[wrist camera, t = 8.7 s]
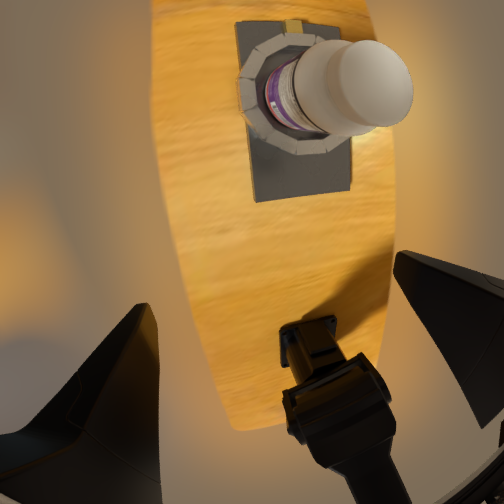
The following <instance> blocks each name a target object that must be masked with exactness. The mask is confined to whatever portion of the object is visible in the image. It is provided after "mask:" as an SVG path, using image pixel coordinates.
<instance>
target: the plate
mask: <svg viewBox="0 0 504 504" xmlns="http://www.w3.org/2000/svg"><path fill="white" fill-rule="evenodd" d="M234 26H235V35H236V43H237V52H238V60H239V69H240V71H241V69H242V67H243V65H244V63H245V61H246V59H247V57H248V55H249V54H250V53H251V51H252V50H253V49H254V48H255V47H256V46H258V45H260V44H262V43H264V42H266V41H267V40H269V39H271V38H273V37H275V36H277V35H279V34H281V33H282V34H284V27H283V22H269V21H252V22H236V23H235V25H234ZM302 29H303V34H313V35H315V37H316V36H319V37H321V38H323V39H324V40H326V41H327V40H341V39H340V33H339V28H338V27H331V26H324V25H316V24H306V23H302ZM302 52H303V51H299V50H281V51H279V52H277V53H276V54H274V55H272V56H270V57H268V58H267V59H265V61H264V63H263V64H262V66H261V68H260V70H259V72H258V74H257V76H256V78H255V87H256V96H257V106H258V108H259V109H260V110H261V112H262V113H263V115H264V116H265V117H266V119H267V120H268V121H269V123H270V124H271V126H272V127H273V128H274V129H275V130H277V131H279V132H281V133H283V134H285V135H287V136H289V137H292V138H294V139H304V138H315V137H317V136H318V135H320V134H321V133H319V132H312V131H303V130H296V129H293V128H290V127H287V126H285V125H284V124H282V123H281V122H279V121H278V120H277V119H276V118H275V117H274V116H273V114H272V113H271V111H270V110H269V108H268V105H267V102H266V98H265V88H266V84H267V81H268V79H269V77H270V75H271V74H272V73H273V71H274V70H275V69H277V68H278V67H279V66H280V65H282V64H284V63H285V62H287V61H289V60H290V59H292V58H294V57H295V56H297V55H299V54H300V53H302ZM245 123H246V132H247V141H248V150H249V160H250V169H251V179H252V188H253V198H254V201H255V202H256V203H257V202H264V201H271V200H278V199H285V198H292V197H300V196H307V195H315V194H324V193H332V192H341V191H350V139H349V138H348V139H347V140H345V141H344V142H342V143H341V144H339V145H338V146H337V147H335V148H334V149H332V150H331V151H329V152H326V153H320V154H306V155H295V154H291V153H288V152H286V151H284V150H282V149H279V148H277V147H275V146H273V145H271V144H269V143H266V142H264V141H262V140H261V139H260V138H258V137H257V136H256V134H255V133H254V132H253V130H252V129H251V128H250V126H249V125H248V124H247V122H246V121H245Z"/></svg>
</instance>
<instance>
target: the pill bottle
mask: <svg viewBox="0 0 504 504" xmlns="http://www.w3.org/2000/svg"><path fill="white" fill-rule="evenodd" d="M265 98H266V102H267V105H268V108H269V110H270V111H271V113H272V114H273V116H274V117H275V118H276V119H277V120H278V121H279V122H281V123H282V124H284V125H285V126H287V127H290V128H293V129H296V130H303V131H312V132H319V133H326V134H332V135H339V136H358V135H363V134H365V133H368V132H370V131H371V130H373V129H375V128H376V127H388V126H392V125H395V124H397V123H399V122H400V121H402V120H403V119H404V118H405V117H406V115H407V114H408V112H409V110H410V107H411V105H412V101H413V84H412V79H411V76H410V73H409V71H408V69H407V67H406V65H405V63H404V62H403V60H402V59H401V58H400V57H399V56H398V55H397V53H395V52H394V51H393V50H392V49H390V48H389V47H388V46H385V45H384V44H382V43H380V42H377V41H372V40H362V41H358V42H355V43H353V42H349V41H345V40H327V41H323V42H320V43H318V44H315V45H313V46H312V47H310V48H308V49H307V50H305V51H303V52H302V53H300V54H299V55H297V56H295V57H294V58H292V59H290V60H289V61H287V62H285V63H284V64H282V65H280V66H279V67H278V68H277V69H275V70H274V71H273V73H272V74H271V75H270V77H269V79H268V81H267V84H266V88H265Z"/></svg>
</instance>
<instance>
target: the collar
mask: <svg viewBox="0 0 504 504" xmlns="http://www.w3.org/2000/svg"><path fill="white" fill-rule="evenodd" d="M283 27H284V34H282V33H281V34H279V35H277V36H275V37H273V38H271V39H269V40H267V41H266V42H264V43H262V44H260V45H258V46H256V47H255V48H254V49H253V50H252V51H251V53H250V54H249V55H248V57H247V59H246V61H245V63H244V65H243V67H242V69H241V71H240V73H239V75H238V77H237V81H236V89H237V98H238V107H239V111H244V112H242V113H241V114H240V115H241V116H242V117H243V118H244V120H245V121H246V122H247V124H248V125H249V126H250V128H251V129H252V130H253V132H254V133H255V134H256V136H257V137H258V138H260V139H261V140H262V141H264V142H266V143H269V144H271V145H273V146H275V147H277V148H279V149H282V150H284V151H286V152H288V153H291V154H295V155H306V154H320V153H326V152H329V151H331V150H332V149H334V148H335V147H337V146H338V145H339V144H341V143H342V142H344V141H345V140H347V139H348V138H350V136H339V135H332V134H326V133H321V134H320V135H318V136H317V137H315V138H304V139H294V138H292V137H289V136H287V135H285V134H283V133H281V132H279V131H277V130H275V129H274V128H273V127H272V126H271V124H270V123H269V121H268V120H267V119H266V117H265V116H264V115H263V113H262V112H261V110H260V109H259V108H258V106H257V96H256V87H255V78H256V76H257V74H258V72H259V70H260V68H261V66H262V64H263V63H264V61H265V59H267V58H268V57H270V56H272V55H274V54H276V53H277V52H279V51H281V50H299V51H305V50H307V49H308V48H310V47H312V46H313V45H315V44H318V43H320V42H323V41H326V40H324V39H323V38H321V37H319V36H316V37H315V35H313V34H303V29H302V23H301V20H287V19H285V20H284V21H283Z"/></svg>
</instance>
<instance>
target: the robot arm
mask: <svg viewBox="0 0 504 504" xmlns="http://www.w3.org/2000/svg"><path fill="white" fill-rule="evenodd" d="M393 274H394V277H395V279H396V280H397V282H398V284H399V285H400V287H401V289H402V291H403V293H404V294H405V296H406V298H407V300H408V302H409V303H410V305H411V307H412V308H413V310H414V311H415V313H416V314H417V316H418V317H419V319H420V320H421V322H422V323H423V325H424V326H425V328H426V329H427V331H428V332H429V334H430V336H431V337H432V339H433V340H434V342H435V344H436V345H437V347H438V348H439V350H440V352H441V353H442V355H443V357H444V358H445V360H446V362H447V364H448V365H449V367H450V369H451V371H452V372H453V374H454V376H455V378H456V379H457V381H458V383H459V385H460V387H461V389H462V391H463V393H464V395H465V397H466V399H467V401H468V403H469V405H470V407H471V409H472V411H473V413H474V415H475V417H476V420H477V422H478V424H479V426H480V428H481V429H483V428H484V427H485V426H486V425H487V424H488V423H489V422H490V421H491V420H492V419H493V418H495V416H497V414H499V412H500V411H501V410H502V409H503V408H504V280H502V279H498V278H496V277H492V276H489V275H486V274H483V273H482V274H481V273H480V272H477V271H474V270H471V269H468V268H465V267H462V266H458V265H455V264H452V263H448V262H445V261H442V260H439V259H435V258H432V257H429V256H425V255H422V254H419V253H415V252H412V251H408V250H403V251H399V252H397V254H396V257H395V262H394V268H393ZM336 324H337V318H336V316H335V315H331V316H328V317H324V318H320V319H316V320H313V321H309V322H305V323H301V324H297V325H292V326H288V327H284V328H281V329H280V330H279V342H280V363H281V366H282V368H286V367H290V368H291V371H292V373H293V376H294V378H295V381H296V383H297V386H295V387H293V388H290V389H286V390H283V391H282V393H283V398H282V399H283V400H282V403H283V406H284V409H285V412H286V422H287V431H288V433H289V435H292V436H295V438H296V439H297V440H298V441H299V443H300V444H301V445H305V444H307V446H308V448H309V450H310V452H311V454H312V456H313V458H314V459H315V461H316V462H317V463H318V464H319V465H321V466H322V467H324V468H326V469H327V468H329V469H331V470H332V471H334V472H336V473H338V474H339V475H341V476H343V477H344V478H345V480H346V482H347V484H348V486H349V489H350V490H351V493H352V495H353V497H354V499H355V501H356V504H412V502H411V500H410V497H409V495H408V493H407V491H406V488H405V486H404V484H403V482H402V480H401V477H400V475H399V473H398V471H397V469H396V467H395V465H394V463H393V461H392V458H391V456H390V452H391V446H392V441H393V436H394V435H395V432H396V421H395V418H394V416H393V414H392V411H391V409H390V407H389V405H388V404H389V403H390V402H391V401H392V399H391V395H390V392H389V390H388V388H387V385H386V383H385V381H384V380H383V378H382V377H381V375H380V374H379V373H378V371H377V370H376V369H375V368H374V366H373V365H372V364H371V363H370V361H369V360H368V359H367V358H366V356H365V355H364V354H363V353H362V352H360V353H359V354H357V356H355V357H353V358H351V359H350V360H347V359H346V357H345V355H344V353H343V352H342V350H341V348H340V347H339V345H338V343H337V342H336V340H335V331H336ZM283 332H284V333H283ZM159 375H160V363H159V348H158V328H157V323H156V320H155V317H154V315H153V312H152V310H151V307H150V305H149V304H148V303H140V304H136V305H135V306H134V307H133V308H132V309H131V310H130V311H129V312H128V314H126V316H125V317H124V318H123V319H122V320H121V321H120V322H119V323H118V324H117V325H116V327H115V328H114V329H113V330H112V331H111V332H110V333H109V334H108V335H107V337H106V338H105V339H104V340H103V341H102V342H101V344H100V345H99V346H98V347H97V348H96V349H95V350H94V351H93V352H92V354H91V355H90V356H89V357H88V358H87V359H86V361H85V362H84V363H83V364H82V365H81V366H80V368H79V369H78V371H77V372H75V373H74V375H73V376H72V377H71V378H70V380H69V381H68V382H67V383H66V384H65V385H64V386H63V388H62V389H61V390H60V391H59V392H58V393H57V394H56V395H55V396H54V397H53V398H52V399H51V400H50V401H49V402H48V404H47V405H46V406H45V407H44V408H43V409H42V410H41V411H40V412H39V413H38V414H37V415H36V416H35V417H34V418H33V419H32V420H31V421H30V422H29V423H28V424H27V425H26V426H25V427H24V428H22V429H20V430H19V431H16V432H14V433H8V434H2V435H0V504H163V503H162V493H161V485H160V483H161V480H160V463H159V421H158V420H159ZM484 500H485V501H486V503H487V504H504V420H503V421H502V422H501V429H500V439H499V449H498V450H497V451H496V452H495V453H494V454H493V455H492V456H491V457H490V458H489V459H488V460H487V461H486V462H485V463H484V464H483V465H482V466H480V467H479V468H478V469H477V470H476V471H475V472H474V473H473V474H472V475H470V476H469V477H468V478H467V479H466V480H464V481H463V482H462V483H461V484H460V485H458V486H457V487H456V488H454V489H453V490H452V491H450V492H449V493H448V494H446V495H445V496H444V497H442V498H441V499H439V500H438V501H437V502H435V503H434V504H481V503H482V502H483V501H484Z"/></svg>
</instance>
